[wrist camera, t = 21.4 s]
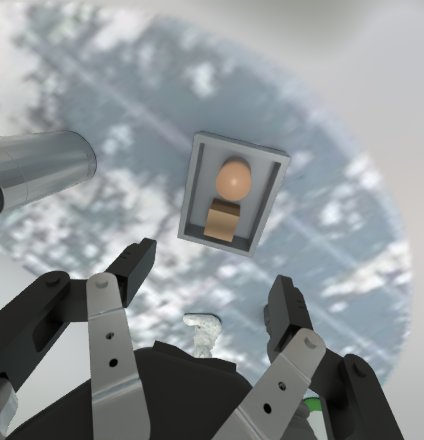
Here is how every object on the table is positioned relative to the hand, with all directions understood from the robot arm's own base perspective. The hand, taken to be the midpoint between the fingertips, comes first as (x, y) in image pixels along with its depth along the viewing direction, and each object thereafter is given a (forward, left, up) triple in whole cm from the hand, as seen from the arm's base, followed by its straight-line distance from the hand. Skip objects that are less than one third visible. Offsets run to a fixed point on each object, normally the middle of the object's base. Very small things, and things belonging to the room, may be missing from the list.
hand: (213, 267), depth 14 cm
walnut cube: (0, -8, -26) cm, 27 cm away
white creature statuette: (+3, -39, -26) cm, 47 cm away
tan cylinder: (0, 0, -26) cm, 26 cm away
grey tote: (0, -4, -26) cm, 26 cm away
